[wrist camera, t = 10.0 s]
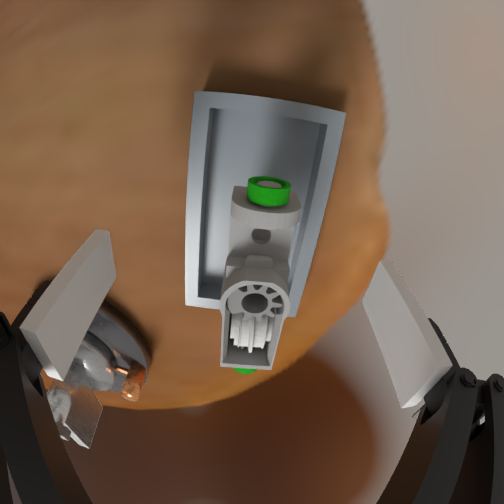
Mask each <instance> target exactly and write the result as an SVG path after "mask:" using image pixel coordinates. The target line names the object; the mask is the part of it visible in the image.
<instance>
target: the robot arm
mask: <svg viewBox="0 0 504 504" xmlns="http://www.w3.org/2000/svg"><path fill="white" fill-rule="evenodd" d="M115 279H116V272H115V266H114V260H113V253H112V246H111V239H110V231H109V230H99V229H96V230H95V231H94V232H93V233H92V234H91V235H90V236H89V237H88V239H87V240H86V241H85V242H84V243H83V244H82V245H81V247H80V248H79V249H78V250H77V251H76V252H75V254H74V255H73V256H72V257H71V258H70V260H69V261H68V262H67V263H66V265H65V266H64V267H63V268H62V269H61V271H60V272H59V273H58V275H57V276H56V277H55V278H54V280H53V281H52V282H50V281H47V282H45V283H44V284H42V285H41V286H40V287H38V288H37V290H36V291H35V292H34V294H33V295H32V298H30V299H29V300H28V302H27V305H26V304H25V306H24V307H23V309H22V310H21V311H20V313H19V314H18V316H17V317H16V319H15V320H14V322H13V323H12V325H11V326H10V324H9V322H8V320H7V318H6V316H5V314H3V313H2V312H0V504H13V500H12V495H11V489H10V483H9V477H8V470H7V463H8V467H9V470H10V473H11V476H12V478H13V481H14V484H15V487H16V489H17V492H18V494H19V497H20V499H21V502H22V504H93V503H92V501H91V499H90V498H89V496H88V494H87V492H86V490H85V489H84V487H83V485H82V483H81V481H80V479H79V477H78V475H77V473H76V471H75V469H74V467H73V464H72V462H71V460H70V458H69V456H68V453H67V451H66V449H65V446H64V444H63V441H62V439H61V436H60V433H59V431H58V428H57V425H56V423H55V420H54V417H53V414H52V411H51V408H50V404H49V401H48V398H47V394H46V391H45V387H44V384H43V380H42V377H41V375H40V372H41V369H42V367H43V369H44V370H45V372H46V373H47V375H48V376H50V377H52V378H55V379H58V380H61V381H64V379H65V377H66V374H67V372H68V370H69V368H70V365H71V363H72V361H73V359H74V357H75V355H76V353H77V350H78V348H79V346H80V344H81V342H82V340H83V338H84V336H85V334H86V332H87V330H88V328H89V326H90V324H91V322H92V321H93V319H94V317H95V315H96V313H97V311H98V309H99V307H100V306H101V304H102V302H103V300H104V298H105V297H106V295H107V293H108V291H109V289H110V288H111V286H112V284H113V283H114V281H115ZM362 304H363V306H364V309H365V311H366V314H367V316H368V319H369V321H370V323H371V326H372V328H373V331H374V333H375V336H376V339H377V341H378V344H379V346H380V349H381V351H382V354H383V357H384V360H385V362H386V365H387V368H388V371H389V373H390V376H391V379H392V382H393V385H394V388H395V391H396V394H397V397H398V400H399V403H400V406H401V408H405V407H411V406H415V405H416V404H417V403H418V402H419V401H420V400H421V399H422V398H424V401H425V404H424V405H423V406H422V407H421V408H420V409H419V410H418V411H417V412H416V413H415V414H414V415H413V416H412V418H415V417H416V416H417V415H418V414H419V416H418V419H417V421H416V424H415V426H414V429H413V431H412V434H411V437H410V438H409V441H408V443H407V445H406V448H405V450H404V452H403V454H402V456H401V459H400V461H399V463H398V465H397V467H396V469H395V471H394V473H393V475H392V477H391V478H390V481H389V482H388V484H387V486H386V488H385V490H384V491H383V493H382V495H381V496H380V499H379V500H378V502H377V503H376V504H504V378H503V377H502V376H501V375H499V374H492V375H491V376H490V377H489V378H488V379H487V380H486V381H483V380H477V379H476V376H475V375H474V374H473V372H471V371H470V370H469V369H466V368H460V366H459V364H458V362H457V360H456V358H455V357H454V355H453V352H452V351H451V349H450V347H449V345H448V344H447V343H446V342H447V341H446V340H445V338H444V336H443V335H442V332H441V331H440V329H439V327H438V326H437V325H436V324H435V323H434V322H433V320H432V319H430V318H427V316H426V315H425V313H424V311H423V310H422V308H421V306H420V305H419V303H418V301H417V300H416V298H415V296H414V295H413V293H412V292H411V290H410V288H409V287H408V285H407V283H406V282H405V280H404V279H403V277H402V276H401V274H400V273H399V271H398V270H397V268H396V267H395V265H394V264H393V262H390V261H382V260H380V261H379V264H378V266H377V268H376V271H375V273H374V276H373V278H372V280H371V283H370V285H369V287H368V290H367V292H366V294H365V296H364V298H363V301H362ZM484 416H485V422H484V423H483V424H481V425H480V419H481V418H482V417H484ZM6 460H7V461H6Z"/></svg>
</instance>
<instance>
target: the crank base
mask: <svg viewBox="0 0 504 504" xmlns="http://www.w3.org/2000/svg"><path fill="white" fill-rule="evenodd" d="M87 333H89V334H91V335H92V336H94V337H95V338H96V339H98V340H99V341H100V342H101V343H102V344H104V345H105V346H106V347H107V348H108V350H109V351H110V352H111V353H112V355H113V356H114V358H115V359H116V361H117V364H118V373H117V375H116V378H115V381H114V383H113V386H112V387H111V388H110V389H108V390H109V391H116V392H121V393H120V394H121V396H122V397H124V398H125V399H127V400H130V401H138V398H139V395H140V391H141V388H142V385H143V384H144V382H145V380H146V378H147V374H148V371H149V368H150V365H151V354H150V351H149V348H148V346H147V343H146V341H145V340H144V338H143V337H142V335H141V334H140V332H139V331H138V330H137V328H136V327H135V326H134V325H133V324H132V323H131V322H130V321H129V320H128V319H127V318H126V317H125V316H124V315H123V314H122V313H120V312H119V311H118V310H117V309H115V308H114V307H113V306H111V305H110V304H108V303H107V302H106V301H104V300H103V302H102V304H101V306H100V307H99V309H98V311H97V313H96V315H95V317H94V319H93V321H92V322H91V324H90V326H89V328H88V330H87Z"/></svg>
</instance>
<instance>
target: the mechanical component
mask: <svg viewBox="0 0 504 504" xmlns="http://www.w3.org/2000/svg"><path fill="white" fill-rule="evenodd" d="M290 189H291V184H290V183H289V182H287V181H285V180H283V179H279V178H275V177H268V176H255V177H251V178H249V179H248V186H247V187H244V186H234V189H233V193H232V199H231V212H230V214H231V219H230V232H229V247H228V257H227V260H226V264H225V271H224V277H223V284H222V291H221V298H220V312H221V314H222V316H223V317H222V339H221V363H220V366H222V367H233V368H234V370H236V371H237V372H239V373H242V374H250V373H253V372H254V371H256V370H257V369H265V370H271V369H272V365H273V361H274V357H275V354H276V350H277V346H278V342H279V338H280V334H281V330H282V326H283V322H284V320H285V319H286V317H287V316H288V314H289V311H290V299H289V293H288V286H287V282H288V277H289V273H290V270H289V264H288V259H289V254H290V248H291V243H292V238H293V233H294V227H295V225H297V224H298V222H299V218H300V212H301V207H302V206H301V203H300V200H299V198H298V196H297V193H296V192H291V191H290Z"/></svg>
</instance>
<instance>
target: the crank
mask: <svg viewBox="0 0 504 504" xmlns="http://www.w3.org/2000/svg"><path fill="white" fill-rule="evenodd" d="M117 373H118V364H117V361H116V359H115V358H114V356H113V355H112V353H111V352H110V351H109V350H108V348H107V347H106V346H105V345H104V344H102V343H101V342H100V341H99V340H98V339H96V338H95V337H94V336H92V335H91V334H89V333H87V332H86V334H85V336H84V338H83V340H82V342H81V344H80V346H79V348H78V350H77V353H76V355H75V357H74V359H73V361H72V363H71V365H70V368H69V370H68V372H67V374H66V377H65V379H64V381H61V380H58V379H55V378H54V380H53V382H52V384H51V386H50V388H49V390H48V393H47V398H48V401H49V404H50V408H51V411H52V414H53V417H54V420H55V423H56V425H57V428H58V431H59V433H60V436H61V438H62V439H65V440H67V441H68V440H69V438H70V436H71V437H72V438H73V439H74V440H75V441H76V442H77V443H78V444H79V445H81V446H84V447H86V448H90V445H91V442H92V438H93V435H94V432H95V429H96V426H97V423H98V420H99V417H100V414H101V411H102V408H103V407H102V406H101V404H100V402H99V401H98V399H97V397H96V395H95V394H94V392H93V390H98V391H104V390H108V389H110V388H111V387H112V386H113V383H114V381H115V378H116V375H117Z"/></svg>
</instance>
